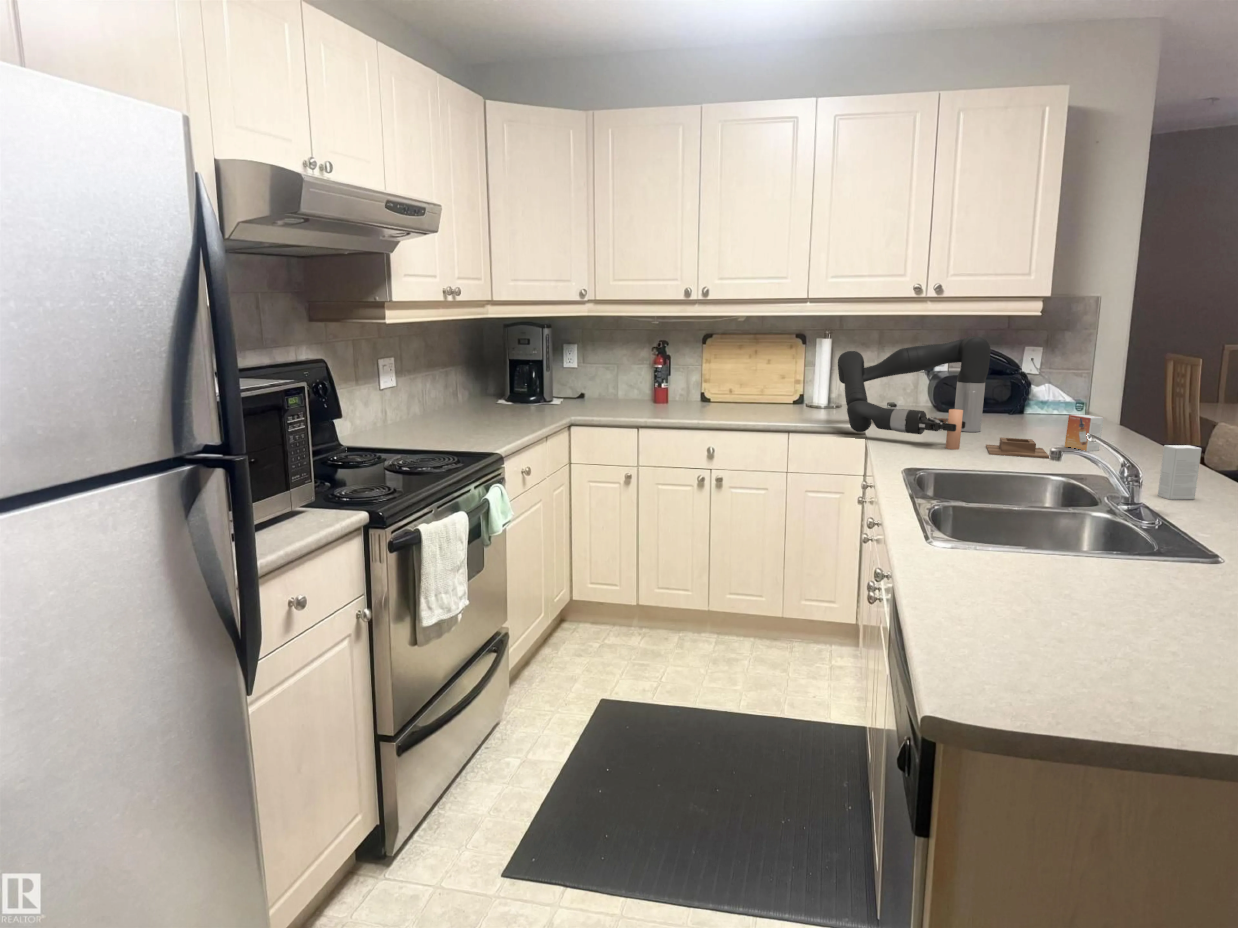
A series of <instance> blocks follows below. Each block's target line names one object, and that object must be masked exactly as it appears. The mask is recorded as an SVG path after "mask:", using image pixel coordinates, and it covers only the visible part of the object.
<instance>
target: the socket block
mask: <svg viewBox="0 0 1238 928" xmlns="http://www.w3.org/2000/svg"><path fill="white" fill-rule="evenodd" d="M985 448H986V450H987V453H988V455H990V456H991V455H992V456H993V455H994V456H1004V455H1005V456H1009V457H1019V456H1020V458H1021V457H1022V458H1036V459H1049V456H1050V455H1049V454H1048V452H1047V451H1046V450H1045V449H1044V448H1043V447H1037V443H1036V442H1035V440H1034V439H1031V438H1030V439H1029V438H1016V437H1015V438H1014V437H999V444H998V445H997V444H985ZM1049 460H1050V459H1049Z"/></svg>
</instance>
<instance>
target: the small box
mask: <svg viewBox="0 0 1238 928" xmlns="http://www.w3.org/2000/svg"><path fill="white" fill-rule="evenodd" d="M1067 418H1068V419H1067V425H1066V435H1065V441H1064V448H1068V447H1071V448H1070V449H1073V448H1077V449H1081V450H1080V451H1082V450H1085V451H1084V452H1099V451H1100V447H1101V443H1100V444H1098V443H1094V442H1091V441H1089V440H1088V439H1087V436H1086V435H1087V433H1091V434H1094V435H1096V436H1097V437H1099V438H1102V431H1103V426H1104V424H1103V423H1104V417H1102V416H1093V415H1088V414H1081V413H1080V414H1079V413H1078V414H1077V413H1076V414H1069V415H1068V417H1067ZM1077 449H1076V450H1077Z"/></svg>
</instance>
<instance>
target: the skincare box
mask: <svg viewBox="0 0 1238 928" xmlns="http://www.w3.org/2000/svg"><path fill="white" fill-rule="evenodd" d="M1201 455H1202V447H1197V446H1195V445H1190V444H1186V445H1185V444H1183V445H1182V444H1181V445H1180V444H1178V445H1177V444H1175V445H1174V444H1173V445H1169V444H1164V446H1163V449H1162V458H1161V467H1160V474H1159V484H1158V489H1157V496H1158V497H1161V498H1164V499H1167V500H1195V498H1196V491H1197V483H1198V478H1199V469H1200V463H1201Z"/></svg>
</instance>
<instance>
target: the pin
mask: <svg viewBox="0 0 1238 928" xmlns="http://www.w3.org/2000/svg"><path fill="white" fill-rule="evenodd" d="M962 417H963V410H959V409H955V408H950V409H948V417H947V419H948V421H947V423H949V424H956V425H957V426H956V431H946V438H945V449H948V450H953V451H954V450H957V451H958V450H960V449H961V448H960V445H961V437H962V436H961V435H962V431H961V427H962Z"/></svg>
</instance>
